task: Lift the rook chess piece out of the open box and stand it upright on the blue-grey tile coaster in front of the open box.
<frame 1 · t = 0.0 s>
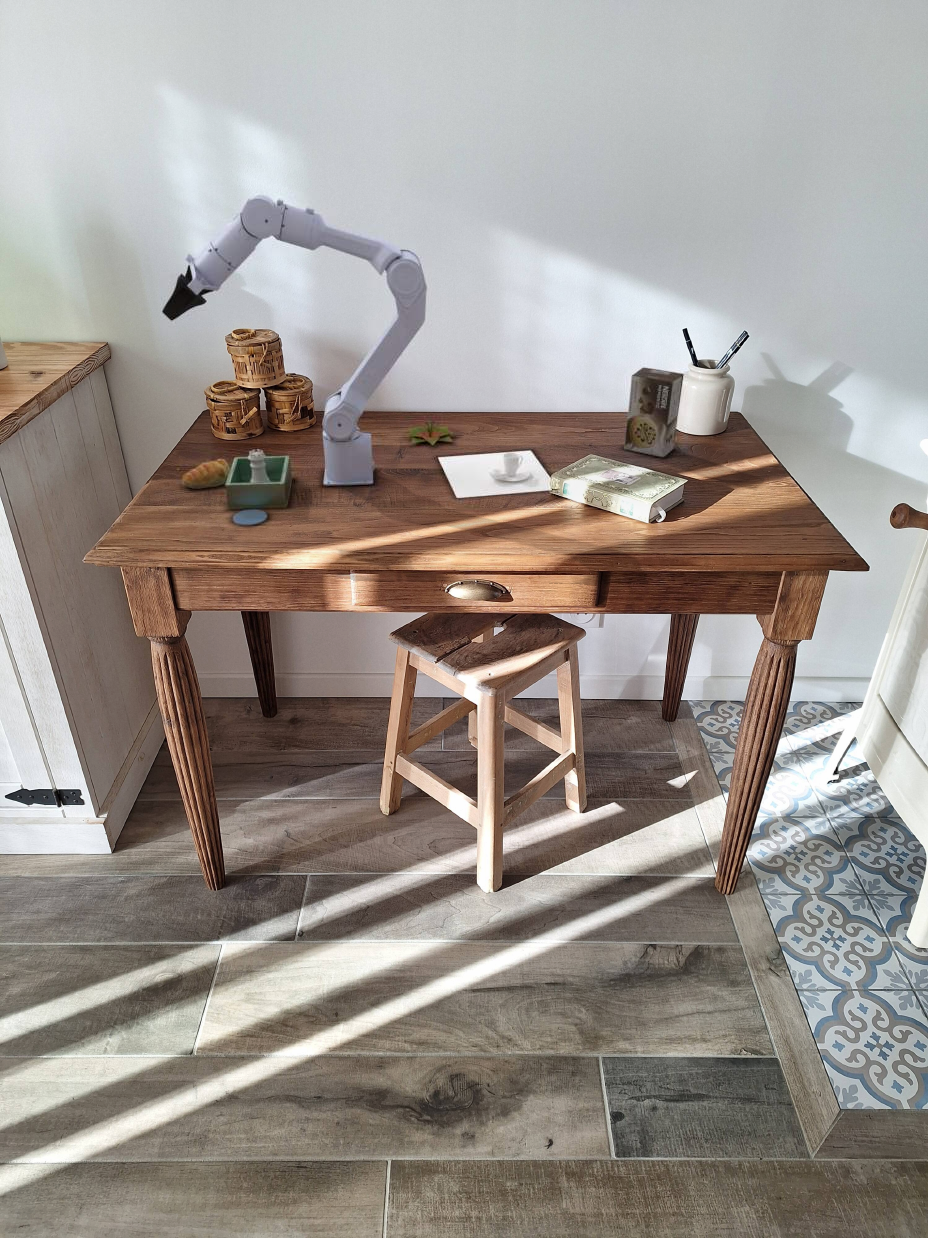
hand: (171, 310, 147), 32 cm above the table, tool tilted 50°, fingers open, 7 cm apart
tile coaster: (250, 518, 152), on the table
teacup and saucer: (495, 473, 170), on the table
open box: (261, 493, 161), on the table
pastry: (211, 482, 165), on the table
coffee box: (648, 449, 181), on the table
rook chess piece: (261, 492, 161), resting on open box
lily flower: (430, 438, 185), on the table
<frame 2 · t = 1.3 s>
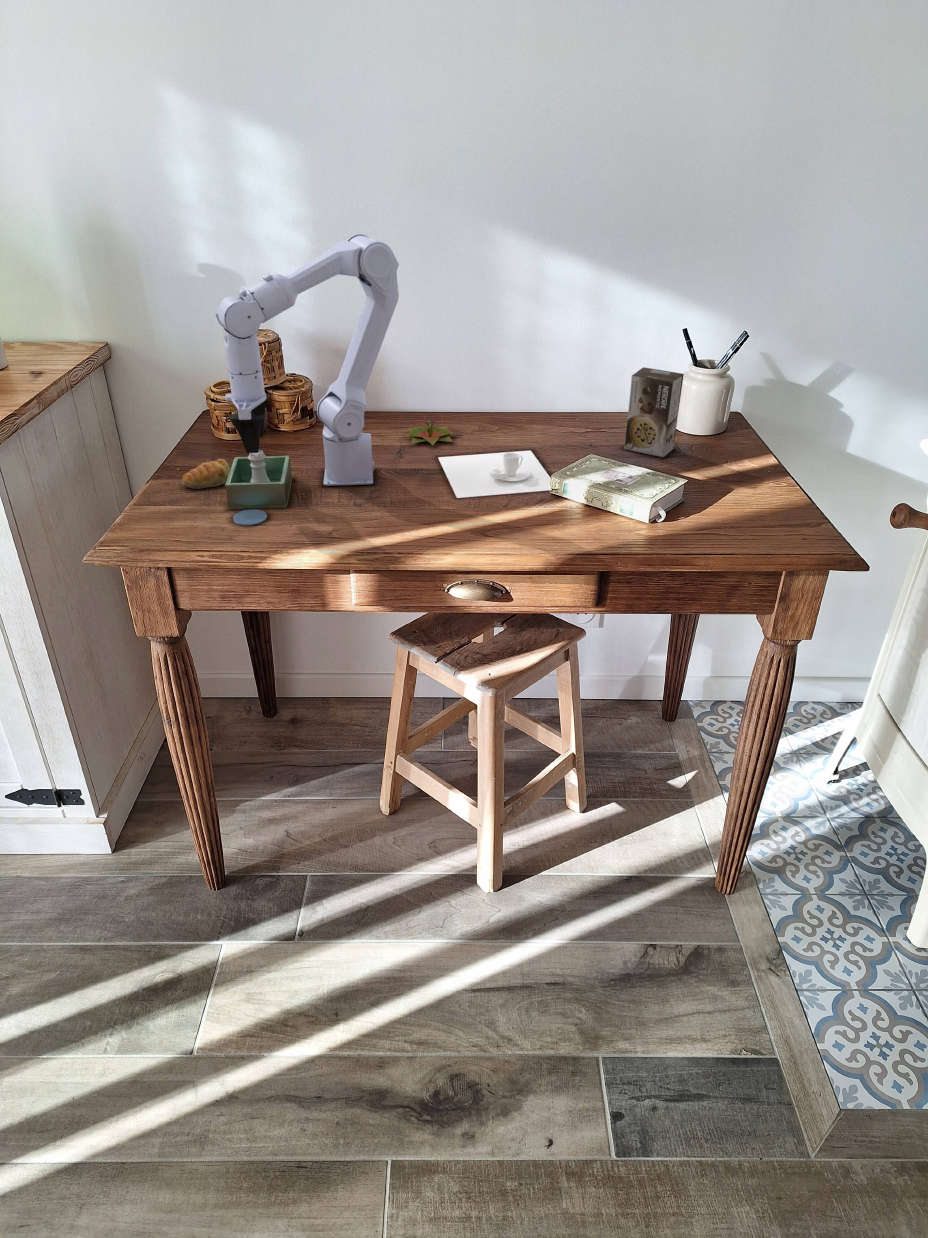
hand: (255, 444, 155), 10 cm above the table, tool pointing down, fingers open, 7 cm apart
nothing on the table moved.
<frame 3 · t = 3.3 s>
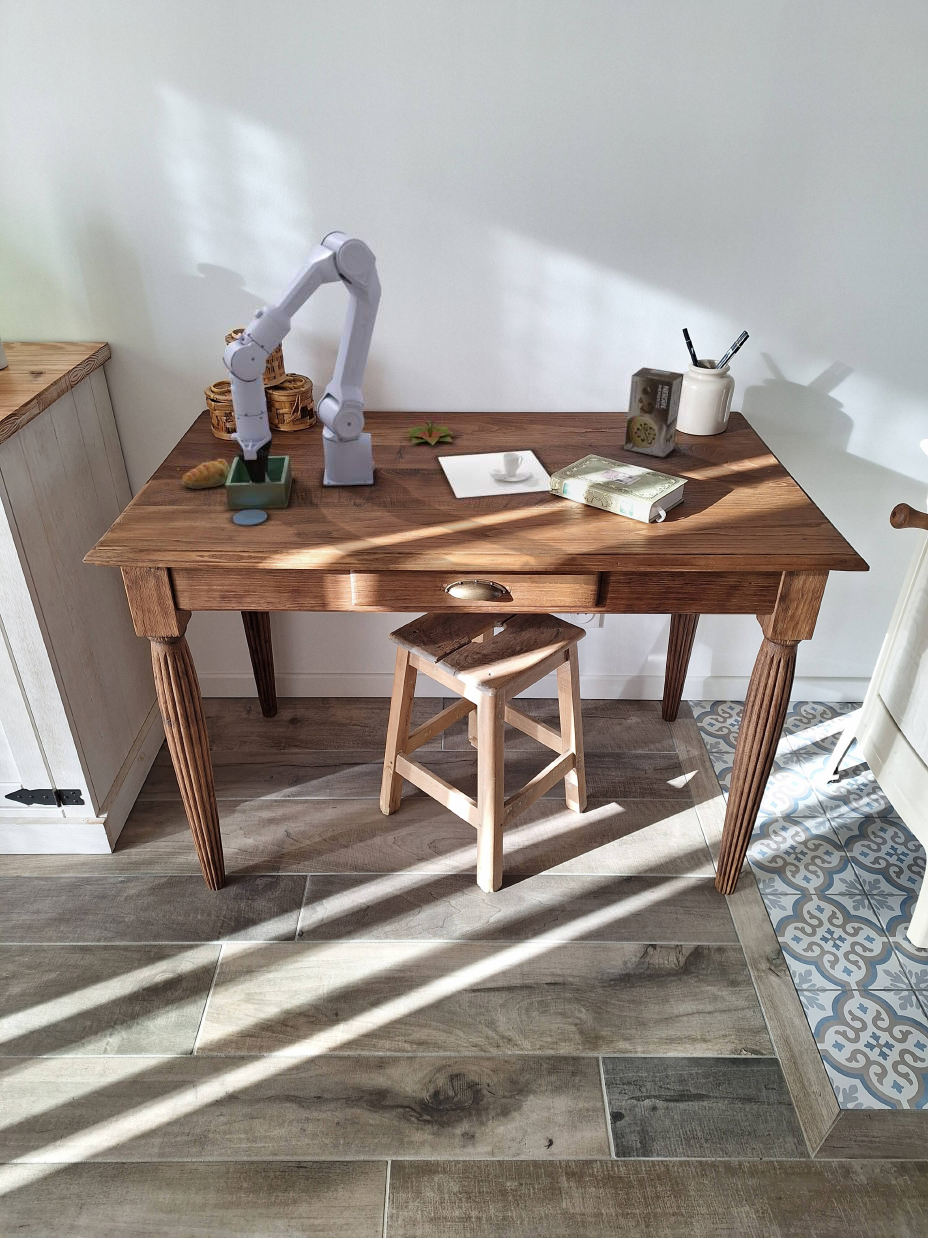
hand: (260, 481, 159), 3 cm above the table, tool pointing down, fingers closed on rook chess piece, 3 cm apart
rook chess piece: (261, 492, 161), resting on open box, touching gripper
everything else where it was.
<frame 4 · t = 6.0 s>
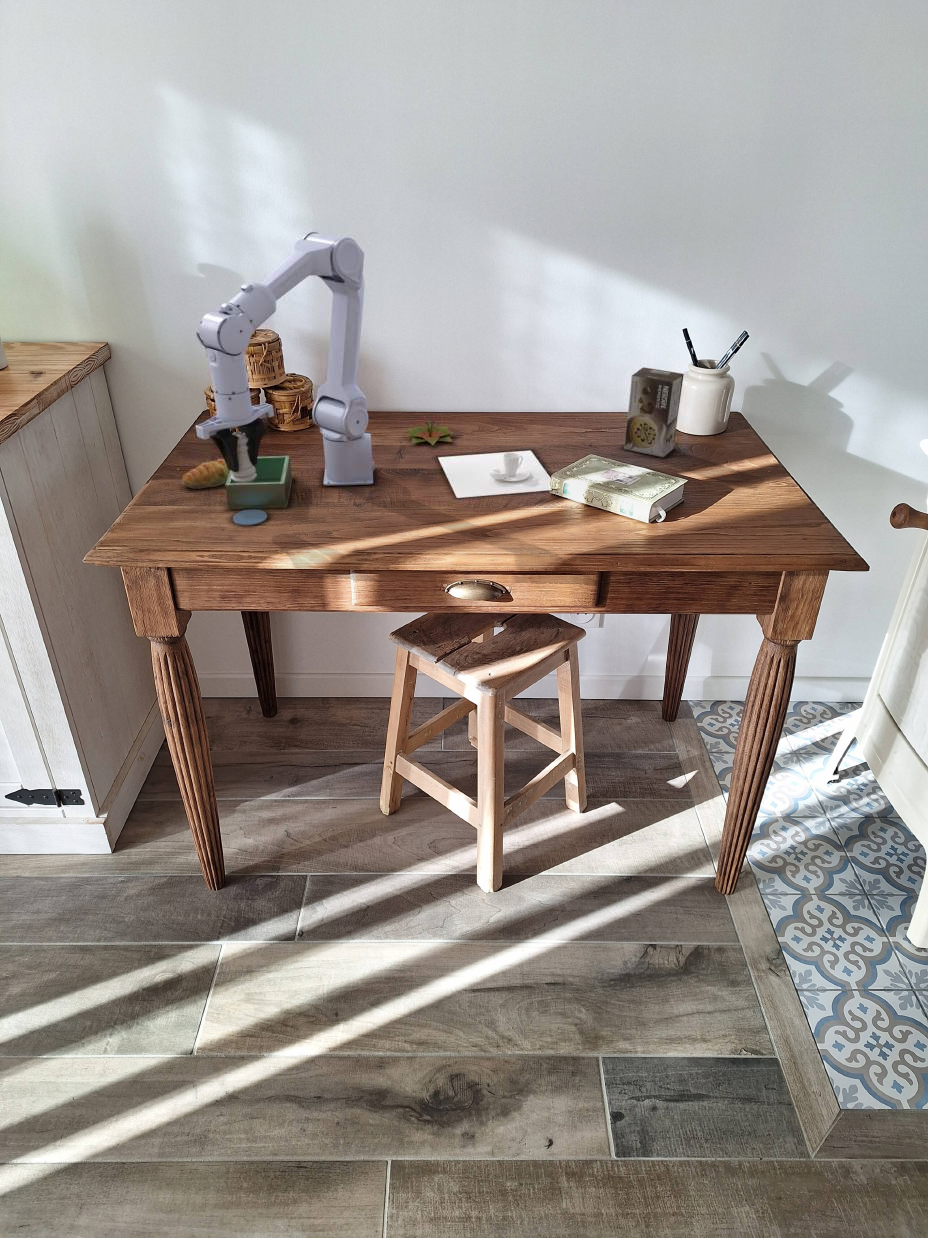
hand: (242, 466, 147), 10 cm above the table, tool pointing down, fingers closed on rook chess piece, 3 cm apart
rook chess piece: (244, 479, 148), point 7 cm above the table, touching gripper
everything else where it was.
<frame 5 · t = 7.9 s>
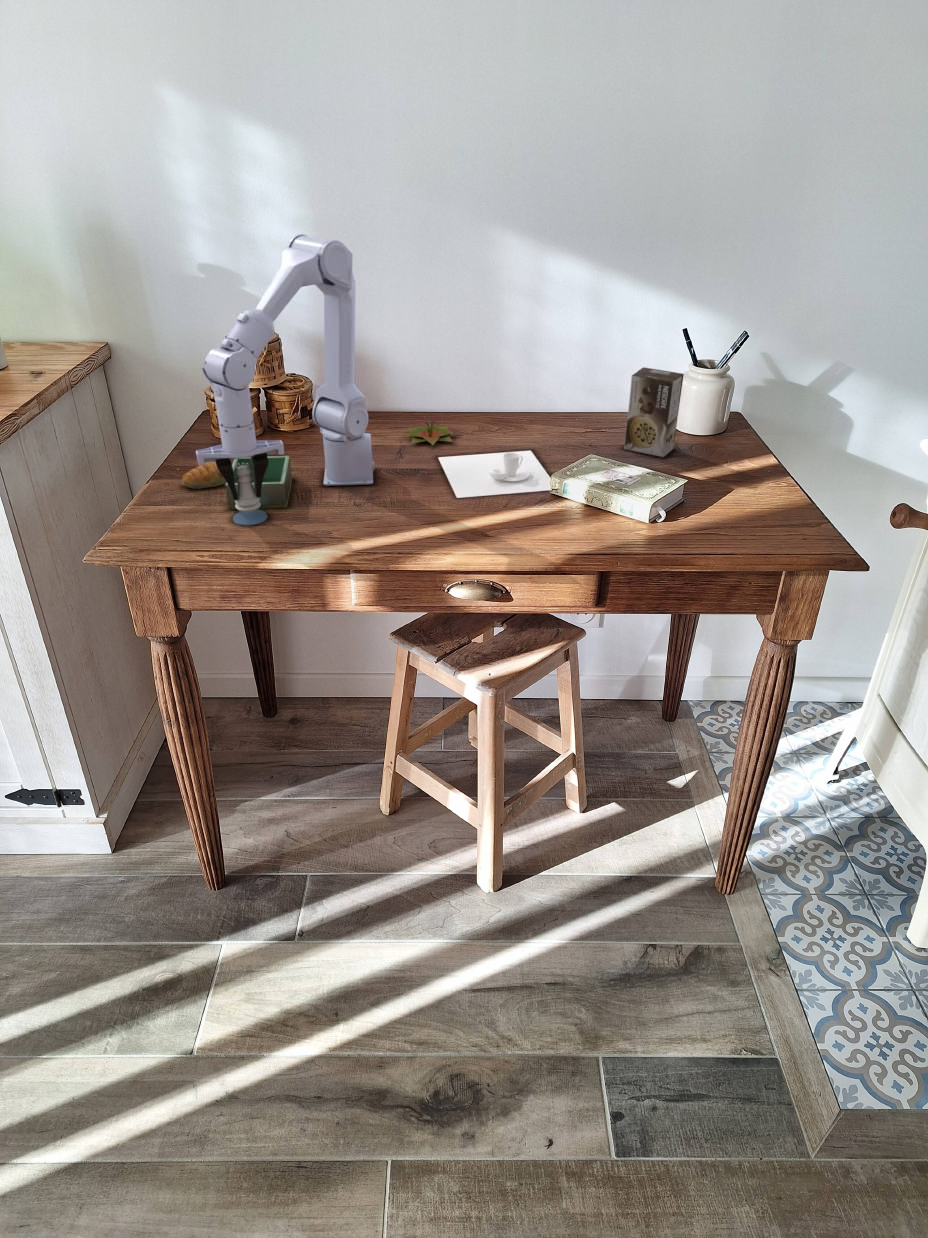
hand: (247, 496, 150), 4 cm above the table, tool pointing down, fingers closed on rook chess piece, 3 cm apart
rook chess piece: (248, 508, 151), point 2 cm above the table, touching gripper
everything else where it was.
when the fingers open (2 cm above the table, at t = 8.8 s): rook chess piece stays where it is, resting on tile coaster.
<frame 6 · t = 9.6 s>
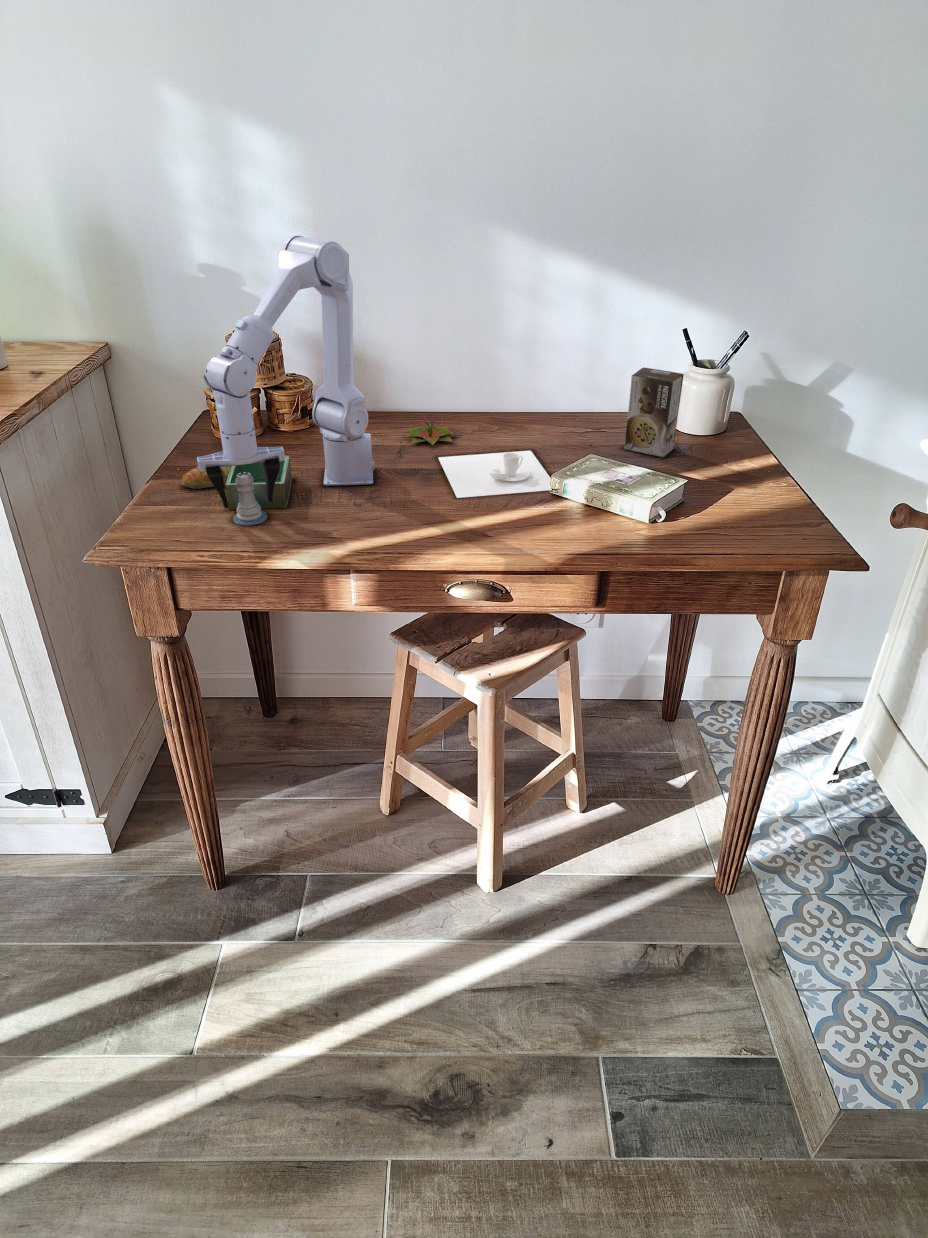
hand: (248, 502, 150), 3 cm above the table, tool pointing down, fingers open, 7 cm apart
rook chess piece: (249, 517, 152), resting on tile coaster
everything else where it was.
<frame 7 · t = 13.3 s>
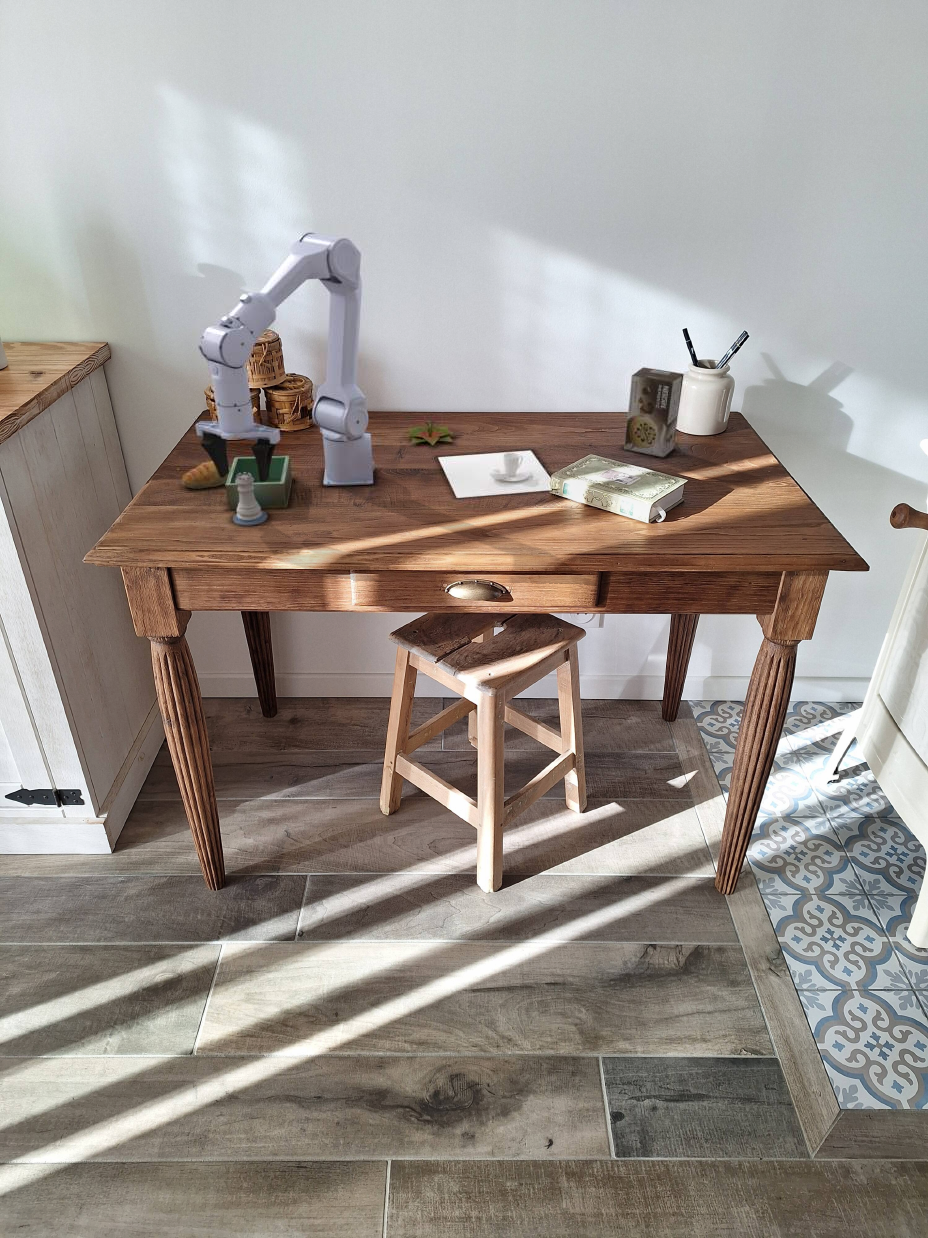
hand: (244, 477, 148), 8 cm above the table, tool pointing down, fingers open, 7 cm apart
nothing on the table moved.
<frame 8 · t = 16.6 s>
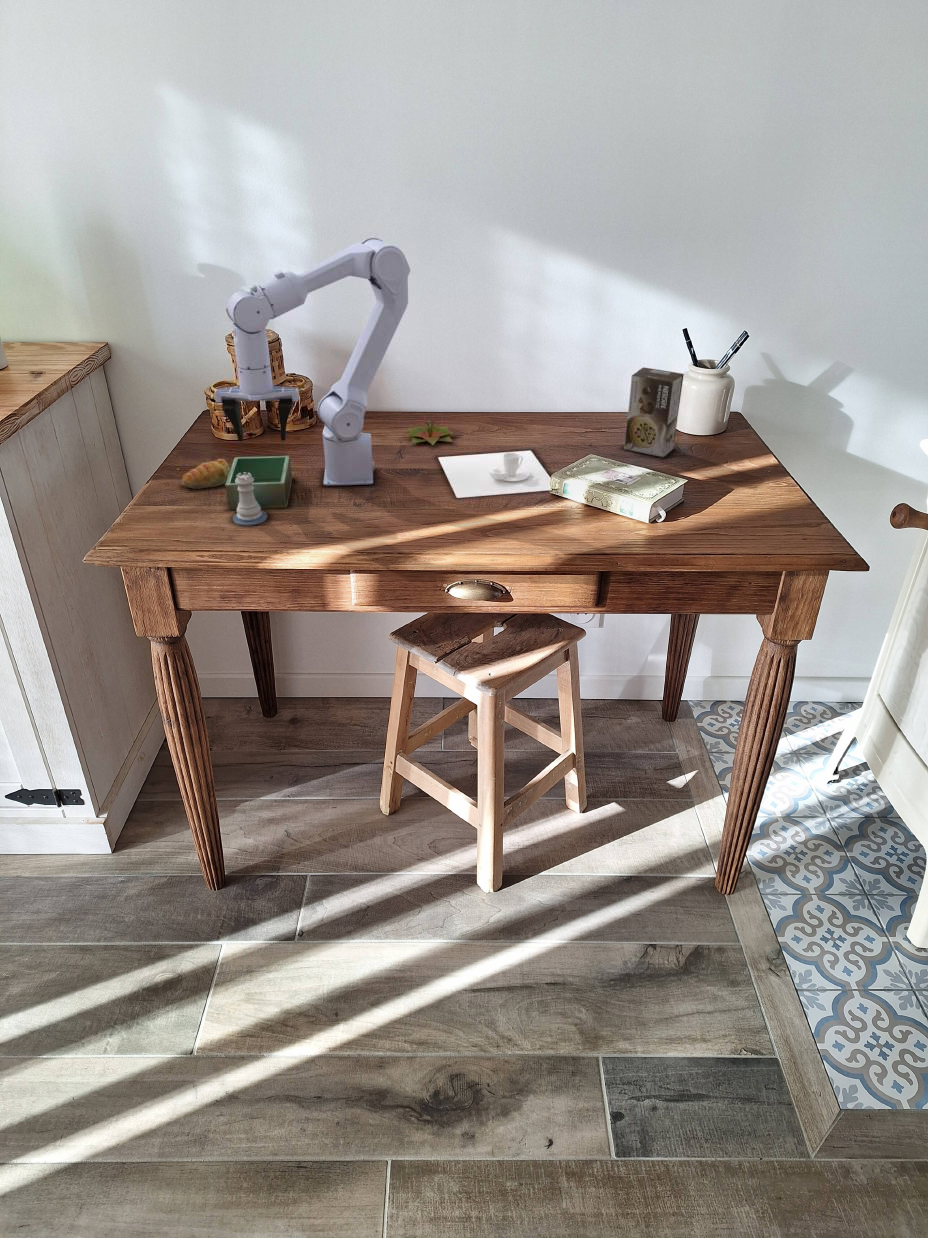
hand: (262, 438, 156), 10 cm above the table, tool pointing down, fingers open, 7 cm apart
nothing on the table moved.
at the end: rook chess piece inside the target area (0.4 cm from its centre), resting on tile coaster; rook chess piece tilted 0°; the gripper is holding nothing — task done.
